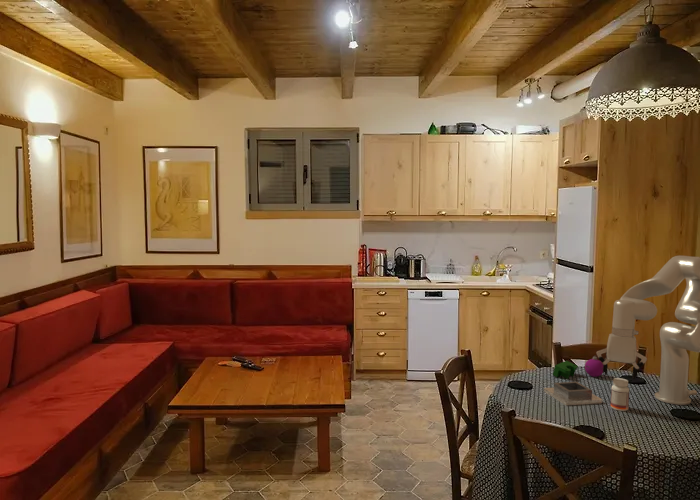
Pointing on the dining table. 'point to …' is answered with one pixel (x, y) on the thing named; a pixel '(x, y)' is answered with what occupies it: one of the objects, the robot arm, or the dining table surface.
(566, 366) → the green lumpy block
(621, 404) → the pill bottle
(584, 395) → the docking plate
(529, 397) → the dining table surface
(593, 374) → the christmas ornament
